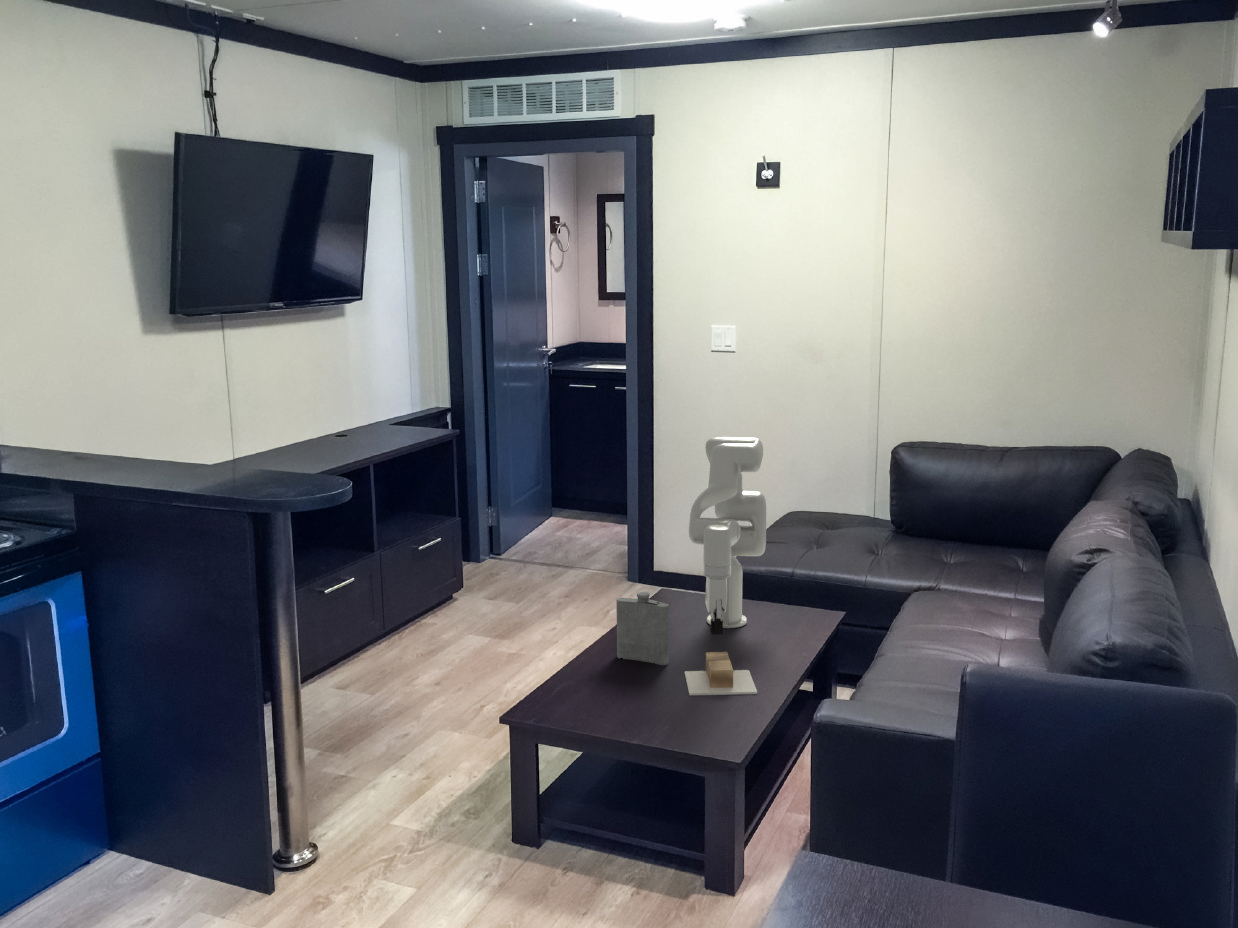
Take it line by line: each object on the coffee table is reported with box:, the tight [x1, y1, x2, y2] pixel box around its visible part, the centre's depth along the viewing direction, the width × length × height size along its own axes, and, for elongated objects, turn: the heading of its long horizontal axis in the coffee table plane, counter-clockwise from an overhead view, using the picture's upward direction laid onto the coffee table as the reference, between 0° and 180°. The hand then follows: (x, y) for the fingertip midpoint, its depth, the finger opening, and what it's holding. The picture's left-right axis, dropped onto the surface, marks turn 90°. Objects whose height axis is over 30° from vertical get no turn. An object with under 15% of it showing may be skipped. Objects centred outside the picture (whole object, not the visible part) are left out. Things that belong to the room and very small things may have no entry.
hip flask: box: [615, 591, 670, 666], centre depth 303 cm, size 16×4×20 cm, turn 66°
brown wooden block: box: [705, 651, 734, 688], centre depth 289 cm, size 5×6×13 cm
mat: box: [684, 669, 758, 696], centre depth 287 cm, size 15×18×1 cm
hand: (716, 633), depth 293 cm, fingers closed
